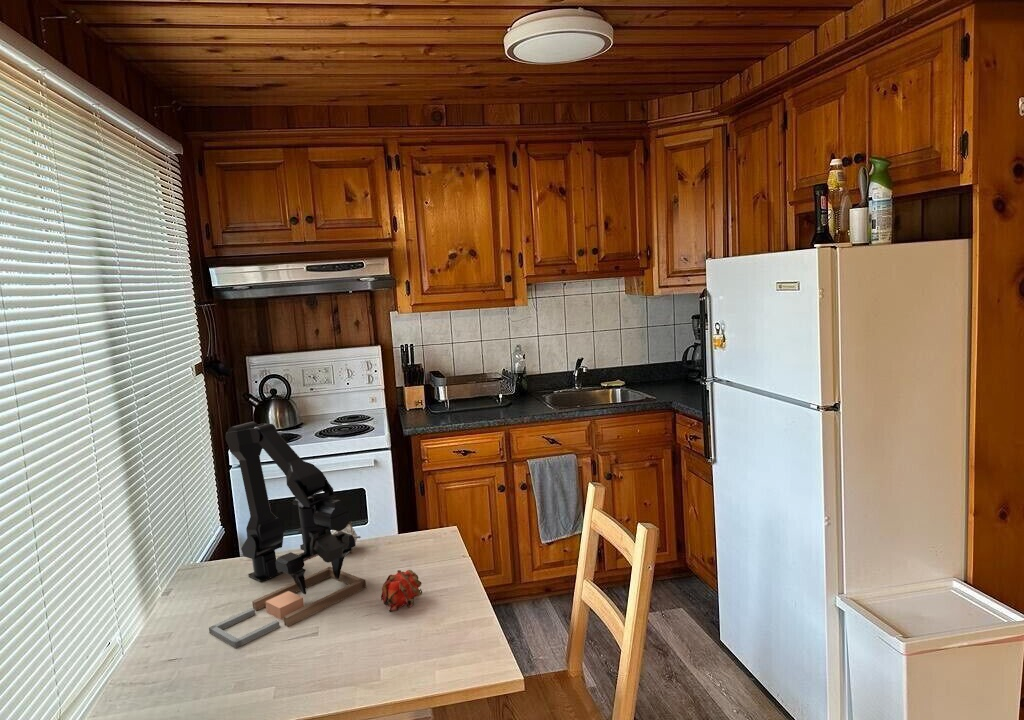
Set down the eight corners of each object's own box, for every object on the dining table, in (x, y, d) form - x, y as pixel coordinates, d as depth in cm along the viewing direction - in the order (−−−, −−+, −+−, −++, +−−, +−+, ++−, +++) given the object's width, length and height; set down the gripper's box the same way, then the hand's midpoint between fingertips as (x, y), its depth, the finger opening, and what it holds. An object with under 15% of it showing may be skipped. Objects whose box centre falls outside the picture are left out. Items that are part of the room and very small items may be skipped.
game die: (352, 562, 196) (370, 529, 197) (341, 564, 188) (360, 530, 189) (325, 545, 198) (344, 513, 199) (313, 546, 190) (333, 513, 191)
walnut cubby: (253, 609, 165) (252, 601, 164) (330, 573, 181) (330, 566, 180) (287, 626, 155) (286, 618, 155) (366, 587, 171) (365, 579, 171)
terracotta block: (267, 613, 163) (265, 601, 162) (290, 602, 167) (288, 590, 167) (281, 620, 159) (279, 608, 158) (304, 609, 163) (303, 597, 163)
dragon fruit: (421, 599, 167) (394, 631, 156) (393, 576, 168) (363, 607, 158) (435, 575, 163) (408, 607, 152) (405, 553, 164) (376, 583, 154)
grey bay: (209, 632, 155) (208, 627, 155) (252, 612, 163) (251, 607, 163) (235, 648, 148) (235, 642, 148) (279, 626, 155) (279, 621, 155)
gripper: (297, 544, 156) (306, 611, 158) (366, 516, 169) (373, 578, 172) (270, 534, 163) (279, 598, 165) (338, 508, 177) (345, 568, 179)
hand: (321, 586), depth 170 cm, fingers open, 9 cm apart
